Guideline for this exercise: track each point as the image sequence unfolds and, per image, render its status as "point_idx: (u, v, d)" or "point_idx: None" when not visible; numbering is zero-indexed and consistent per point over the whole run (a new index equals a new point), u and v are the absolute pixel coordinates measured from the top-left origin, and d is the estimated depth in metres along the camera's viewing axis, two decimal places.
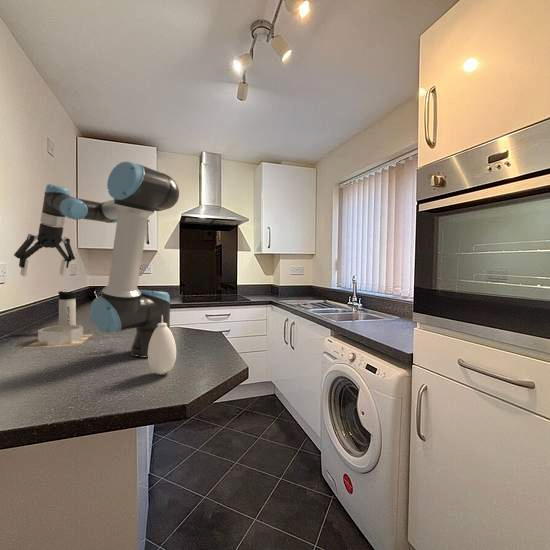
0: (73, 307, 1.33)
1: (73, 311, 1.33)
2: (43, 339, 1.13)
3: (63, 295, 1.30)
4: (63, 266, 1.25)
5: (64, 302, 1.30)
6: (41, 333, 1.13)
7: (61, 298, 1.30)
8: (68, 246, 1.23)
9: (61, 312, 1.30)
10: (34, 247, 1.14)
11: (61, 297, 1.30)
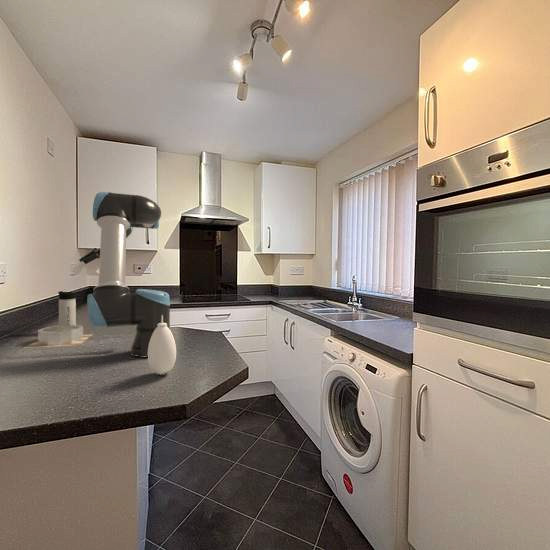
0: (73, 307, 1.33)
1: (73, 311, 1.33)
2: (43, 339, 1.13)
3: (63, 295, 1.30)
4: None
5: (64, 302, 1.30)
6: (41, 333, 1.13)
7: (61, 298, 1.30)
8: None
9: (61, 312, 1.30)
10: None
11: (61, 297, 1.30)
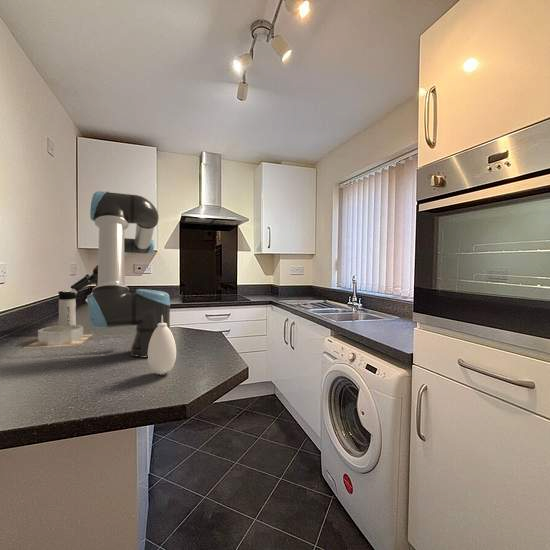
0: (73, 307, 1.33)
1: (73, 311, 1.33)
2: (43, 339, 1.13)
3: (63, 295, 1.30)
4: None
5: (64, 302, 1.30)
6: (41, 333, 1.13)
7: (61, 298, 1.30)
8: None
9: (61, 312, 1.30)
10: None
11: (61, 297, 1.30)
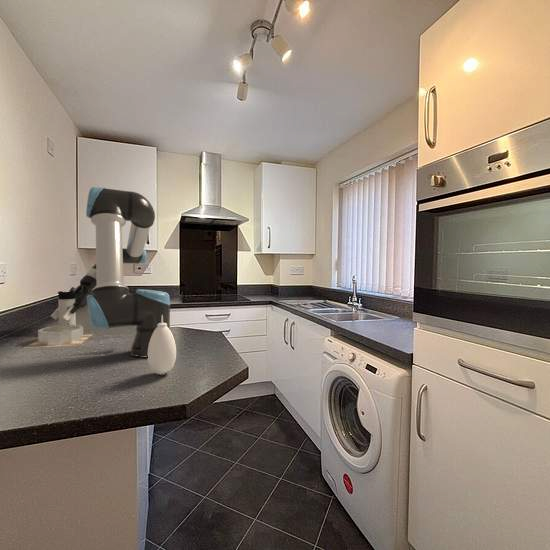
0: None
1: None
2: (43, 339, 1.13)
3: (63, 295, 1.30)
4: None
5: (63, 302, 1.30)
6: (41, 333, 1.13)
7: (61, 298, 1.30)
8: (86, 293, 1.36)
9: (61, 312, 1.30)
10: None
11: (61, 297, 1.30)
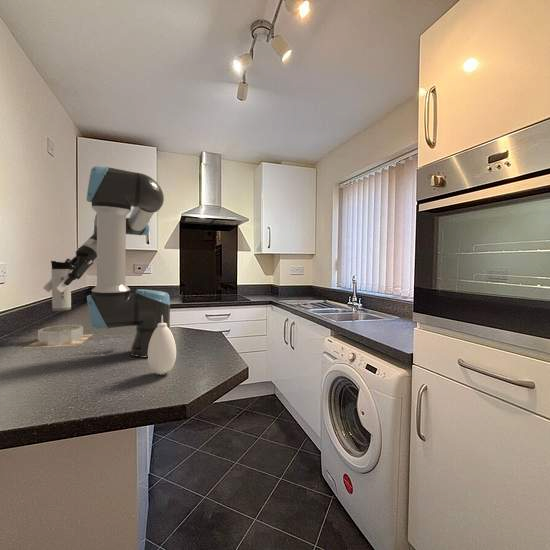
0: None
1: None
2: (43, 339, 1.13)
3: (56, 264, 1.17)
4: None
5: (57, 272, 1.17)
6: (41, 333, 1.13)
7: (54, 267, 1.17)
8: (83, 263, 1.23)
9: (54, 283, 1.17)
10: None
11: (54, 266, 1.17)
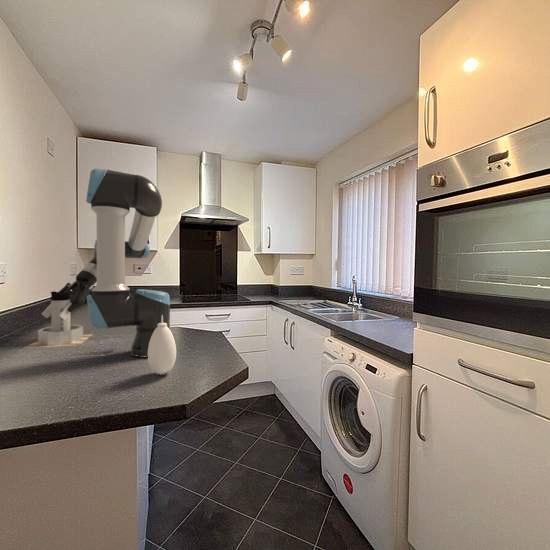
0: None
1: None
2: (43, 339, 1.13)
3: (56, 296, 1.16)
4: None
5: (57, 304, 1.17)
6: (41, 333, 1.13)
7: (54, 299, 1.17)
8: (84, 289, 1.23)
9: (54, 315, 1.17)
10: None
11: (54, 298, 1.17)
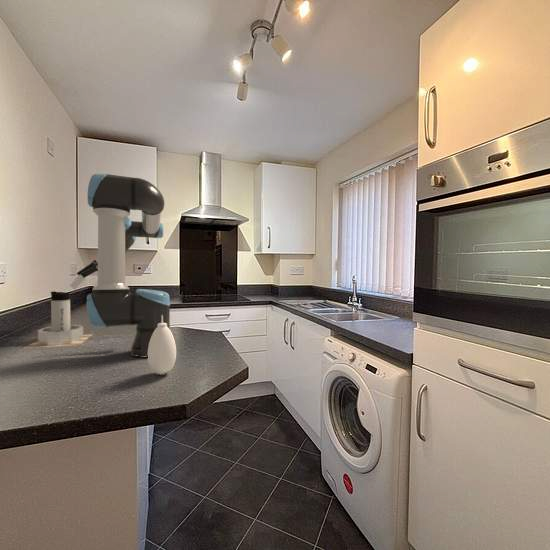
0: (67, 309, 1.19)
1: (67, 313, 1.19)
2: (43, 339, 1.13)
3: (56, 296, 1.16)
4: None
5: (57, 304, 1.17)
6: (41, 333, 1.13)
7: (54, 299, 1.17)
8: None
9: (54, 315, 1.17)
10: None
11: (54, 298, 1.17)
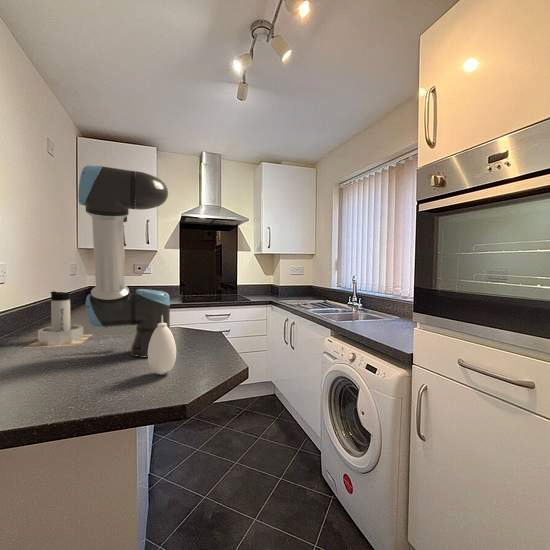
0: (67, 309, 1.19)
1: (67, 313, 1.19)
2: (43, 339, 1.13)
3: (56, 296, 1.16)
4: None
5: (57, 304, 1.17)
6: (41, 333, 1.13)
7: (54, 299, 1.17)
8: None
9: (54, 315, 1.17)
10: None
11: (54, 298, 1.17)
